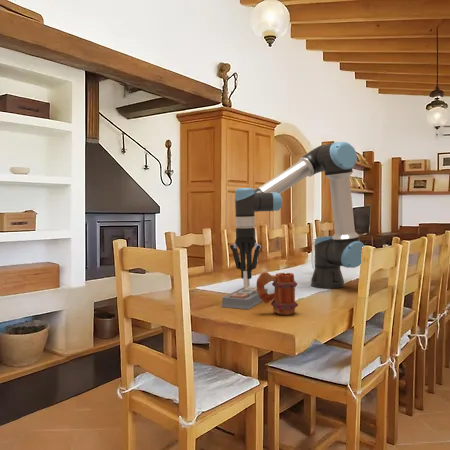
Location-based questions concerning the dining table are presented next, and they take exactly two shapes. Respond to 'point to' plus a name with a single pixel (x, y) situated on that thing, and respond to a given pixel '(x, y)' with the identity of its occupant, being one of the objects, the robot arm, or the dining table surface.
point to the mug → (279, 292)
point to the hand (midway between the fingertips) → (246, 286)
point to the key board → (241, 301)
